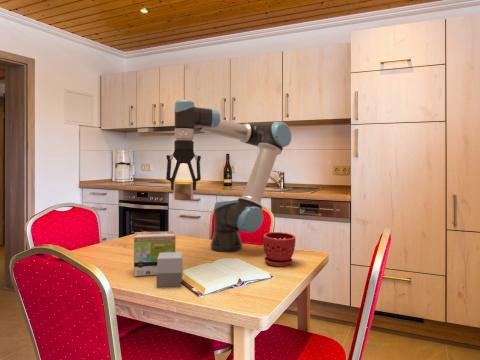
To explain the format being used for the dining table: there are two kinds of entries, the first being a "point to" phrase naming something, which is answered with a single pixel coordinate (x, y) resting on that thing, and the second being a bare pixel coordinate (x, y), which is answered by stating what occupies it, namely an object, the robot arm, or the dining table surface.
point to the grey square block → (170, 262)
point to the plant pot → (279, 248)
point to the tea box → (151, 250)
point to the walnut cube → (182, 191)
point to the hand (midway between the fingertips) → (183, 198)
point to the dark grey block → (169, 279)
